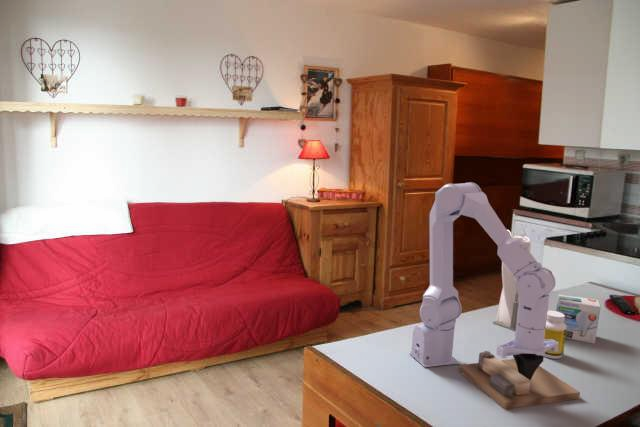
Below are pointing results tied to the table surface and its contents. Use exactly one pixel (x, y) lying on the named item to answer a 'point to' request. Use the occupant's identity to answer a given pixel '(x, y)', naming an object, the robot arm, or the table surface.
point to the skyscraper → (509, 296)
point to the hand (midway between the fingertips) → (523, 384)
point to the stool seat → (501, 389)
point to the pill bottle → (555, 333)
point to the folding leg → (504, 372)
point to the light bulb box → (579, 317)
